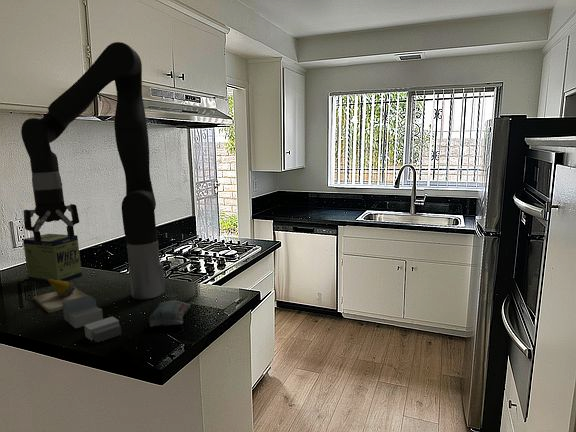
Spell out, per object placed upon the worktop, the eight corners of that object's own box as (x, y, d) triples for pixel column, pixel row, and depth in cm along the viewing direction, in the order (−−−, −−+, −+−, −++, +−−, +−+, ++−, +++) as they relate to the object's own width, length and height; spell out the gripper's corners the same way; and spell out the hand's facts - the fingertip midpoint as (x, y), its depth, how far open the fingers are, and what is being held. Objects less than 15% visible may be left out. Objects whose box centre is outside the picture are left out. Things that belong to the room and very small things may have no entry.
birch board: (74, 289, 138) (74, 286, 138) (92, 301, 126) (92, 298, 126) (33, 299, 129) (33, 296, 129) (49, 312, 118) (48, 309, 118)
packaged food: (192, 312, 116) (190, 295, 115) (182, 330, 104) (181, 312, 103) (160, 314, 115) (159, 297, 114) (148, 332, 104) (146, 314, 103)
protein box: (58, 284, 144) (53, 241, 142) (27, 280, 150) (21, 239, 147) (83, 275, 154) (78, 235, 151) (53, 272, 159) (47, 233, 157)
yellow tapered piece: (78, 297, 129) (51, 282, 122) (65, 303, 130) (38, 289, 123) (81, 283, 132) (55, 268, 125) (69, 289, 134) (42, 275, 127)
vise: (90, 311, 118) (88, 295, 117) (123, 334, 103) (121, 315, 102) (64, 319, 113) (62, 301, 112) (94, 344, 98) (92, 324, 97)
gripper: (69, 184, 130) (75, 235, 132) (16, 189, 120) (25, 243, 123) (77, 185, 124) (84, 238, 127) (23, 190, 115) (31, 247, 117)
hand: (55, 240), depth 125 cm, fingers open, 8 cm apart
